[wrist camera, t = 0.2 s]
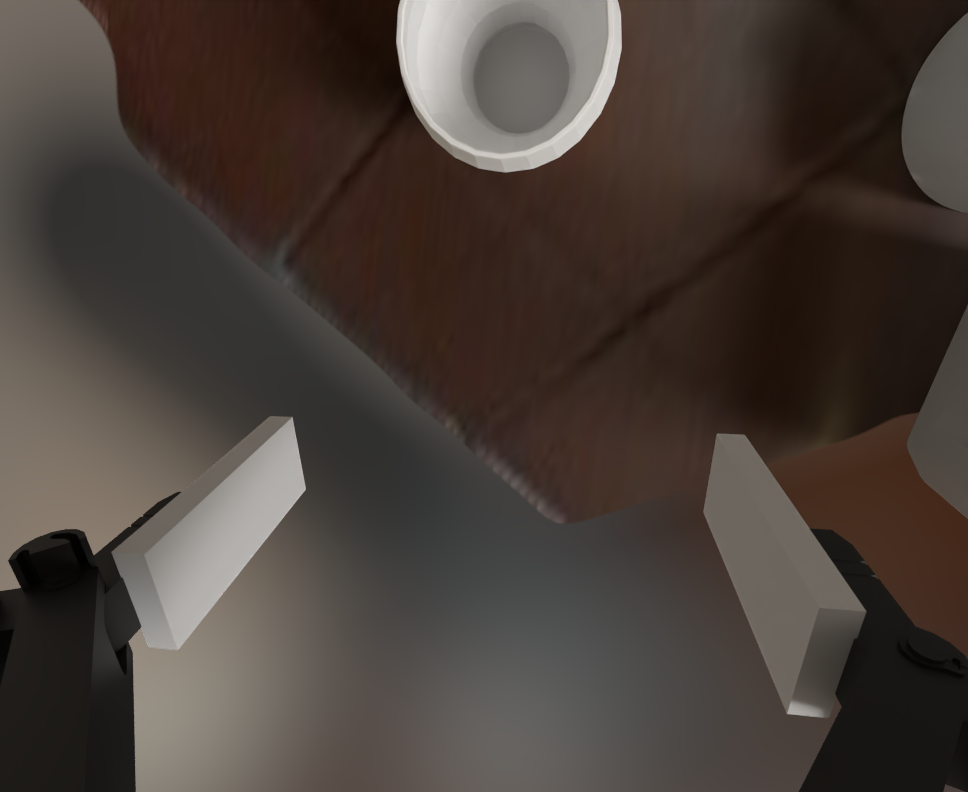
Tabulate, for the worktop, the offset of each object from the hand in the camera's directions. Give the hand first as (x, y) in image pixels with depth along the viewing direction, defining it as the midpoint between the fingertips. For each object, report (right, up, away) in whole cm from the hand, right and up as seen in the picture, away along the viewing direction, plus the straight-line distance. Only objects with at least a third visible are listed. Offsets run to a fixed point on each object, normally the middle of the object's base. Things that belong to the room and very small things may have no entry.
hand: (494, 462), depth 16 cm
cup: (+2, +23, +20) cm, 31 cm away
